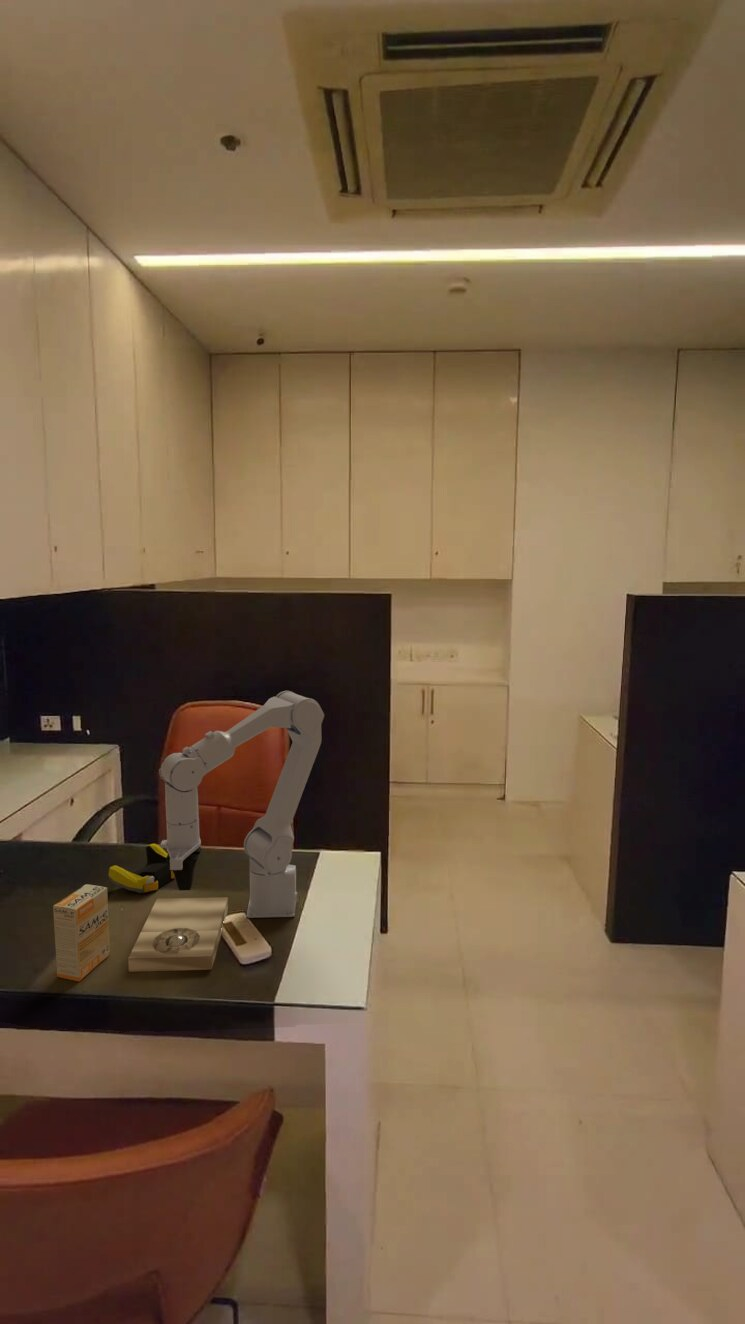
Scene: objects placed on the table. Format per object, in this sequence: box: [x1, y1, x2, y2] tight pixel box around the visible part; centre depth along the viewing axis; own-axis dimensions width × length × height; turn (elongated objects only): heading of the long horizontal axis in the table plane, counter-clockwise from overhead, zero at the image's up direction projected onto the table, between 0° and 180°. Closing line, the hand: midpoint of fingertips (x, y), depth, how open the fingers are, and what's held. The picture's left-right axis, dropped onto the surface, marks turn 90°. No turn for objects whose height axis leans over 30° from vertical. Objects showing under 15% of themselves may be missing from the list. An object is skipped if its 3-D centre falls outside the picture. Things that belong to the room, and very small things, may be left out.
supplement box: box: [52, 883, 111, 982], centre depth 116 cm, size 8×5×13 cm, turn 164°
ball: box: [168, 935, 187, 947], centre depth 121 cm, size 3×3×3 cm
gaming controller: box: [107, 843, 175, 894], centre depth 147 cm, size 15×6×10 cm
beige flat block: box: [127, 896, 229, 973], centre depth 126 cm, size 20×14×2 cm
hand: (185, 888), depth 125 cm, fingers closed
